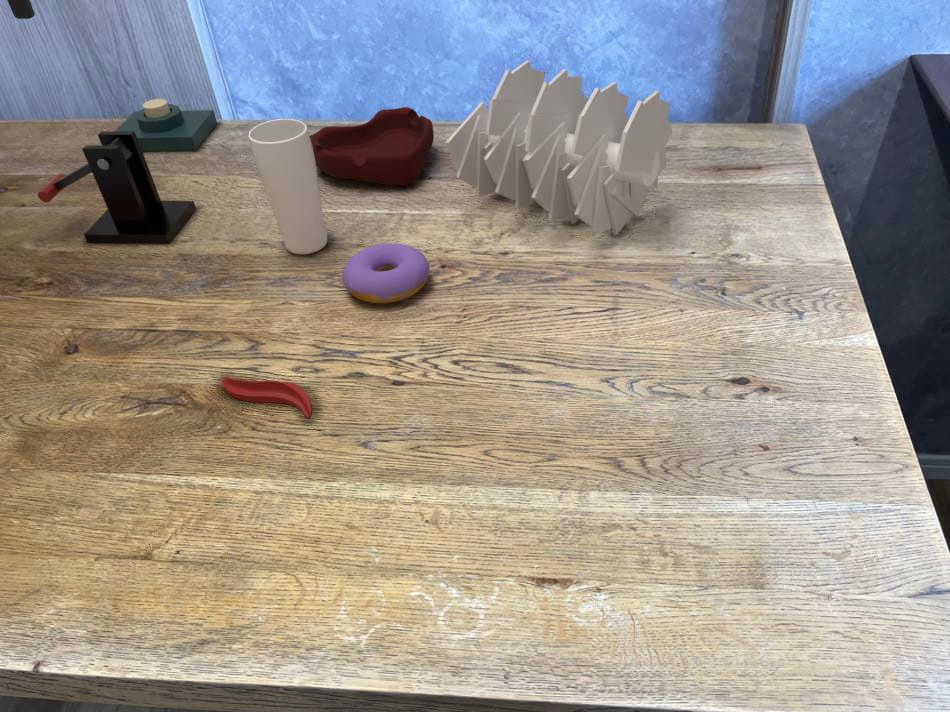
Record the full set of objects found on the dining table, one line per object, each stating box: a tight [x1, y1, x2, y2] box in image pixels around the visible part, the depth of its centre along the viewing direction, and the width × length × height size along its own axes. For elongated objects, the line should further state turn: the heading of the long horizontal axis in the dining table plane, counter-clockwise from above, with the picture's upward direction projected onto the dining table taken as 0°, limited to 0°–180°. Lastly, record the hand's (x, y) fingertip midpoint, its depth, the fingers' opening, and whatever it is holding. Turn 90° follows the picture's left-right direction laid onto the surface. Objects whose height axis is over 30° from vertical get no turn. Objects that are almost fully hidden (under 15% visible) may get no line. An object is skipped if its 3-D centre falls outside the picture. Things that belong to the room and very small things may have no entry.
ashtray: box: [309, 106, 435, 188], centre depth 116 cm, size 18×16×5 cm
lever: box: [37, 138, 133, 204], centre depth 103 cm, size 13×5×2 cm, turn 86°
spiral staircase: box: [444, 60, 674, 237], centre depth 101 cm, size 18×18×25 cm
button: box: [142, 98, 171, 118], centre depth 125 cm, size 4×4×2 cm
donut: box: [342, 242, 430, 304], centre depth 94 cm, size 10×9×5 cm
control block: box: [115, 103, 218, 152], centre depth 127 cm, size 13×10×4 cm
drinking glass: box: [247, 118, 329, 255], centre depth 98 cm, size 7×7×15 cm
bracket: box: [81, 130, 197, 244], centre depth 104 cm, size 11×9×12 cm
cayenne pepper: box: [221, 376, 313, 419], centre depth 81 cm, size 12×5×2 cm, turn 53°
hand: (6, 30), depth 93 cm, fingers open, 8 cm apart
